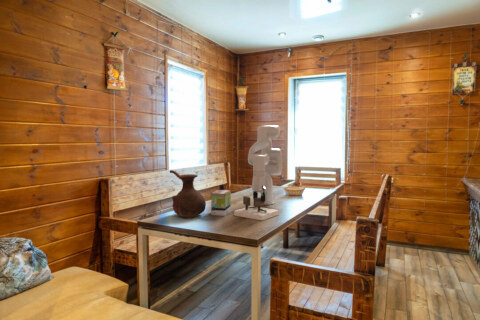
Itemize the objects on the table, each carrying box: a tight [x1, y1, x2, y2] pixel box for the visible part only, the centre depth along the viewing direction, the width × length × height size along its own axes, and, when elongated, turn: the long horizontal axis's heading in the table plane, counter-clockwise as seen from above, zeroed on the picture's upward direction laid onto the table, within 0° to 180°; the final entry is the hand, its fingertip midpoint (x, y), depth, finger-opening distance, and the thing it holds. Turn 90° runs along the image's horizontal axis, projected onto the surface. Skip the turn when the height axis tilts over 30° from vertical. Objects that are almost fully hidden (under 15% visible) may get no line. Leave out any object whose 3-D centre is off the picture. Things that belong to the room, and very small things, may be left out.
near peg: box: [253, 196, 267, 212], centre depth 202 cm, size 9×7×8 cm
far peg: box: [242, 195, 258, 210], centre depth 210 cm, size 9×7×8 cm
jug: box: [169, 169, 207, 219], centre depth 205 cm, size 22×22×30 cm
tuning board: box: [233, 205, 279, 221], centre depth 207 cm, size 19×22×3 cm
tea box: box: [210, 189, 232, 217], centre depth 212 cm, size 15×10×15 cm
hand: (259, 200), depth 205 cm, fingers open, 9 cm apart
